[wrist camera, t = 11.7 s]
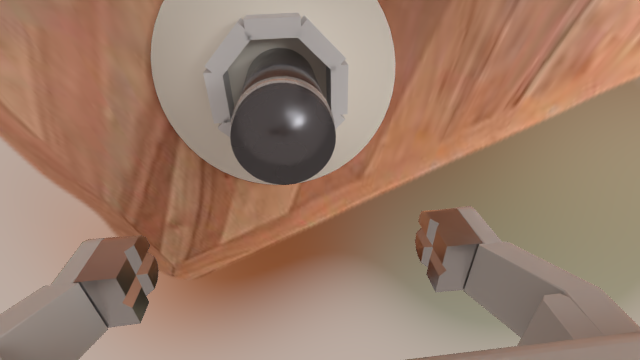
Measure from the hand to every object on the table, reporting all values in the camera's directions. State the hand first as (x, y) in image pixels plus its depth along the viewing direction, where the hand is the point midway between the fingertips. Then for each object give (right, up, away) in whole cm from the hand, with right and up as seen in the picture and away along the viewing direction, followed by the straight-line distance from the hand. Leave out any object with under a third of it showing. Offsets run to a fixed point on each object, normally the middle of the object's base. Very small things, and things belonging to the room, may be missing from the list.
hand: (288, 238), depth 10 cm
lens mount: (-2, +10, +16) cm, 18 cm away
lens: (-2, +9, +15) cm, 17 cm away
